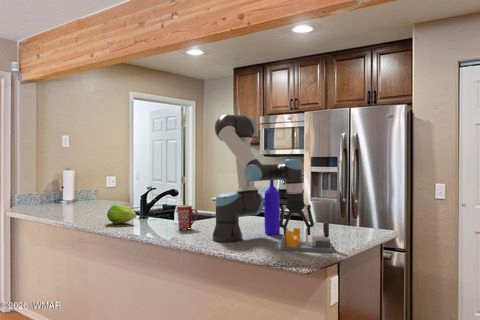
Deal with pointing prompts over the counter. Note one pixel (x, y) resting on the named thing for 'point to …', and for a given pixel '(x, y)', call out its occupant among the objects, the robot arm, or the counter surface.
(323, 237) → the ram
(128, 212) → the green papaya
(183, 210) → the mug
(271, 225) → the bottle
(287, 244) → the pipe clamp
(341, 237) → the counter surface
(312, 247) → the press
